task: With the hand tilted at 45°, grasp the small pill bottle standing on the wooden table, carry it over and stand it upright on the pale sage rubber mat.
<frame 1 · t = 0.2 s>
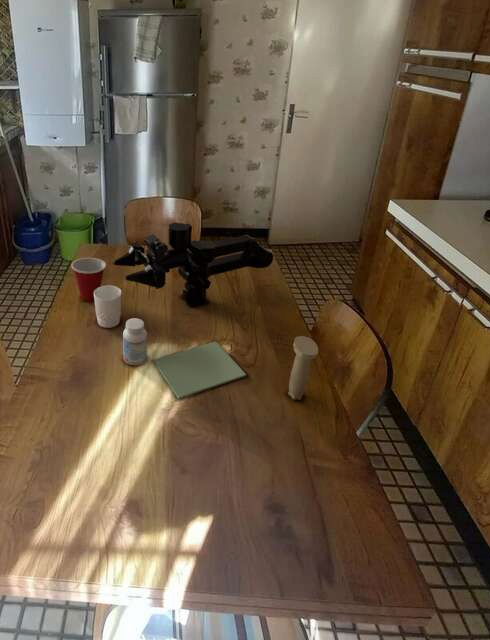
hand: (119, 270, 122), 17 cm above the table, tool horizontal, fingers open, 9 cm apart
mat: (198, 368, 111), on the table
handle: (295, 396, 103), on the table
pill bottle: (134, 358, 114), on the table
plastic cup: (90, 296, 140), on the table
white cup: (108, 321, 129), on the table
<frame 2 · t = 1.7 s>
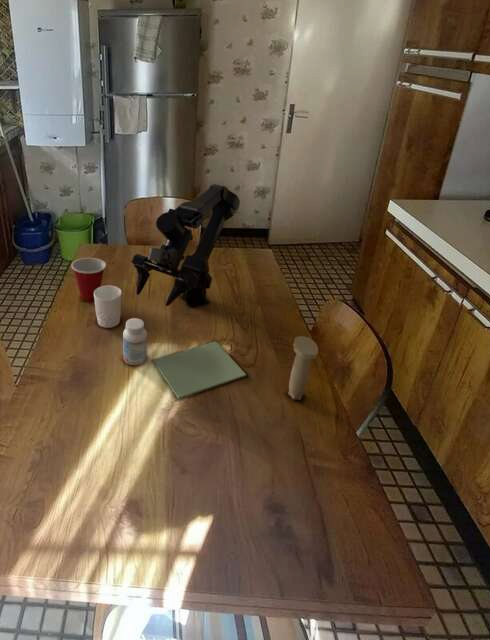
hand: (151, 299, 114), 14 cm above the table, tool tilted 45°, fingers open, 9 cm apart
nothing on the table moved.
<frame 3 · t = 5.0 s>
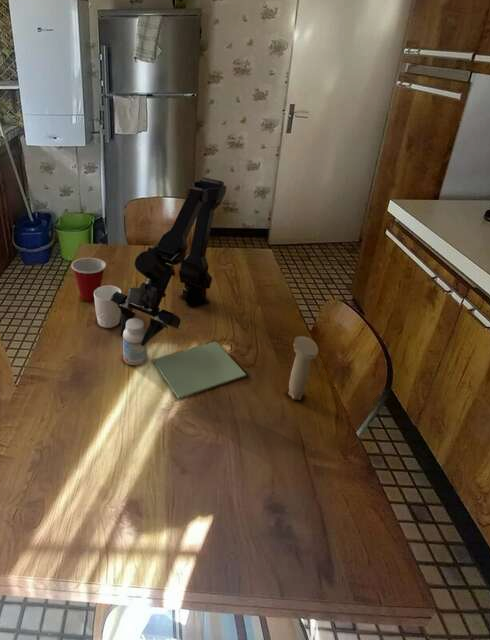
hand: (131, 341, 110), 7 cm above the table, tool tilted 45°, fingers closed on pill bottle, 6 cm apart
pill bottle: (134, 358, 114), on the table, touching gripper
everything else where it was.
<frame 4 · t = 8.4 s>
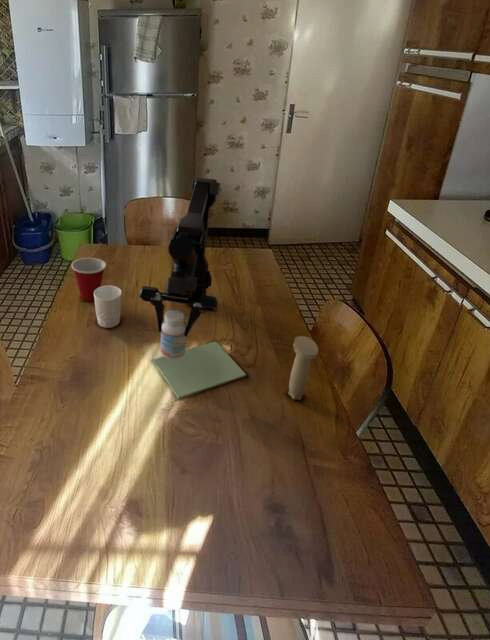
hand: (172, 334, 104), 12 cm above the table, tool tilted 45°, fingers closed on pill bottle, 6 cm apart
pill bottle: (172, 352, 108), point 5 cm above the table, touching gripper
everything else where it was.
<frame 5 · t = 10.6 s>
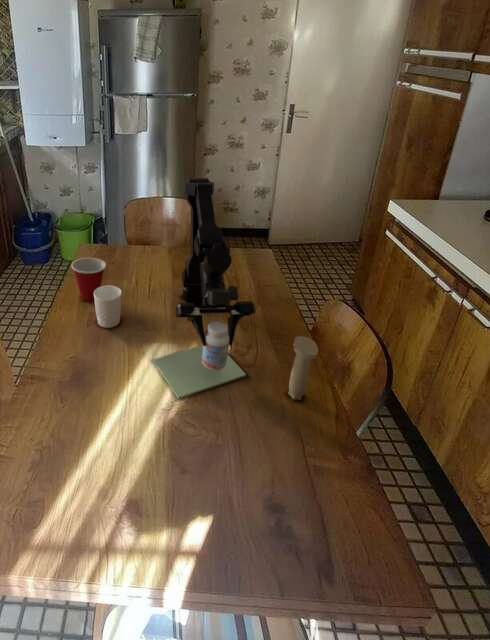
hand: (217, 345, 104), 10 cm above the table, tool tilted 45°, fingers closed on pill bottle, 6 cm apart
pill bottle: (214, 363, 108), point 3 cm above the table, touching gripper
everything else where it was.
when the fingers open (7 cm above the table, at t = 12.0 s): pill bottle stays where it is, resting on mat.
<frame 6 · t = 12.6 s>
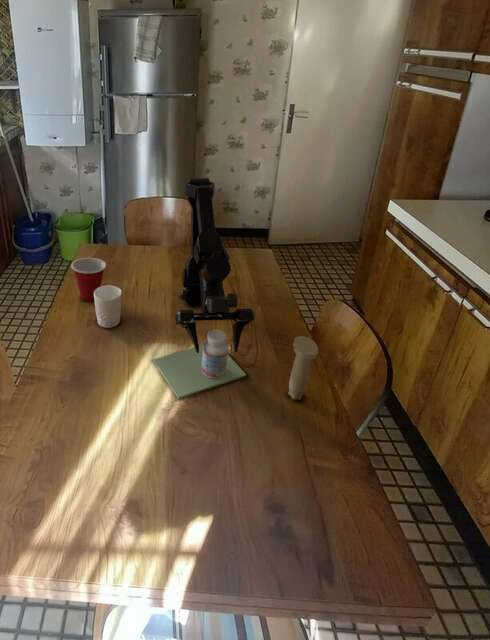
hand: (217, 352, 105), 8 cm above the table, tool tilted 45°, fingers open, 9 cm apart
pill bottle: (213, 371, 109), resting on mat
everything else where it was.
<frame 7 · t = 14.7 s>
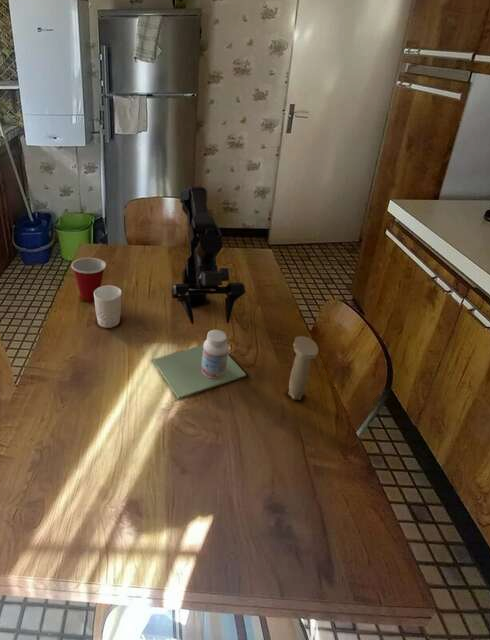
hand: (210, 323, 112), 10 cm above the table, tool tilted 45°, fingers open, 9 cm apart
nothing on the table moved.
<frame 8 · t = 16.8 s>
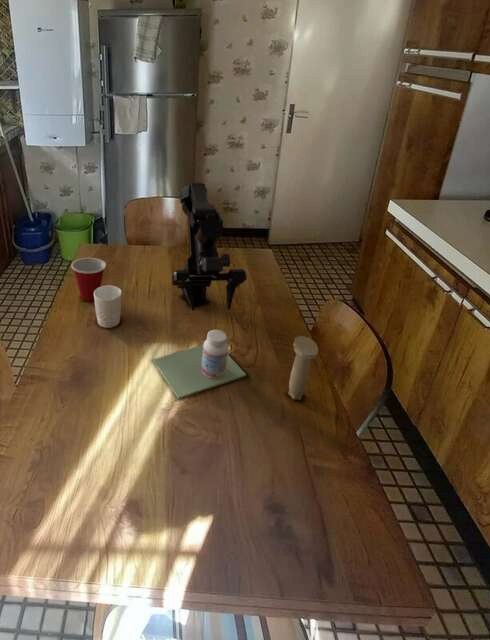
hand: (211, 310, 111), 14 cm above the table, tool tilted 45°, fingers open, 9 cm apart
nothing on the table moved.
at the end: pill bottle inside the target area on the mat (3.8 cm from its centre), point 0.4 cm above the mat's base; pill bottle tilted 0°; the gripper is holding nothing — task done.
